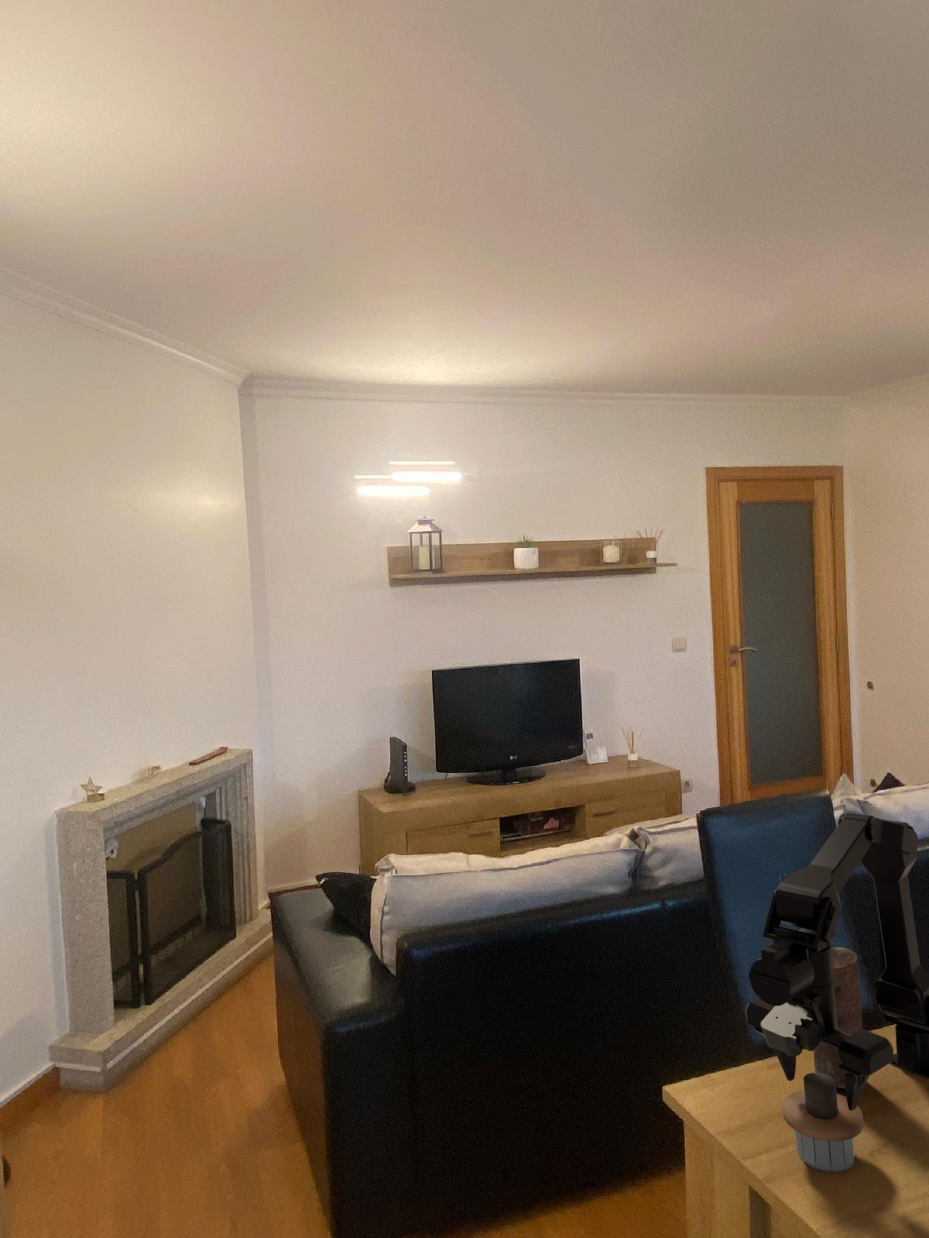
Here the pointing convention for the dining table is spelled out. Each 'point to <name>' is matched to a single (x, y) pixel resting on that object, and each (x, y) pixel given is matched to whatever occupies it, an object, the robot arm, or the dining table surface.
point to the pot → (826, 1153)
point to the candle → (841, 1012)
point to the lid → (821, 1111)
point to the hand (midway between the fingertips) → (820, 1093)
